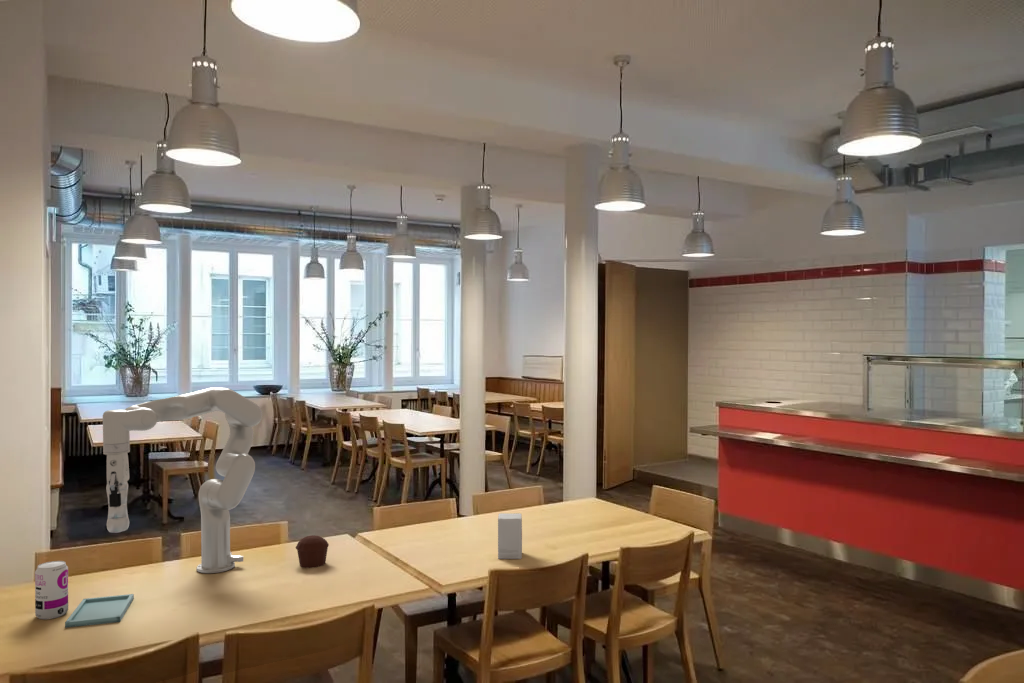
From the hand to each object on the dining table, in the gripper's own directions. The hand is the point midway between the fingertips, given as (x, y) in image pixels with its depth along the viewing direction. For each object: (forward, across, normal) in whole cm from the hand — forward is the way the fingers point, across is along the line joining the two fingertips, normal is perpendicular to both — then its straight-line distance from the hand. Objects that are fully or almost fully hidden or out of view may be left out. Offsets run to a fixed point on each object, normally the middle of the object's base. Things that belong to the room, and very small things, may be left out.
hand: (117, 503), depth 235 cm
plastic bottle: (+9, 0, 0) cm, 9 cm away
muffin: (+30, +12, -60) cm, 68 cm away
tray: (+29, -17, +2) cm, 34 cm away
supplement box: (+31, -1, -131) cm, 135 cm away
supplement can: (+29, -15, +15) cm, 36 cm away
